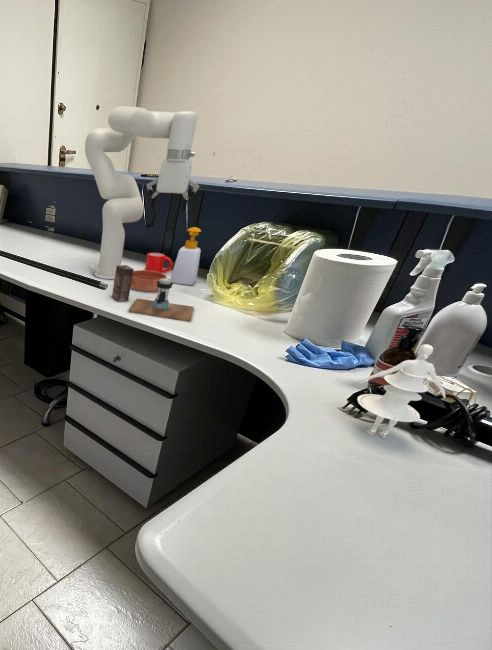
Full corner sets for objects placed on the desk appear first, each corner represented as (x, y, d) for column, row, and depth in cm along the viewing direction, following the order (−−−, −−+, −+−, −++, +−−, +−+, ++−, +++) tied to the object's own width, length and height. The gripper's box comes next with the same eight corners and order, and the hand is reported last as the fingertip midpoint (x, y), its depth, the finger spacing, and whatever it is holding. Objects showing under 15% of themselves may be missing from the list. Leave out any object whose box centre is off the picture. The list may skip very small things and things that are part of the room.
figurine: (406, 428, 84) (461, 339, 74) (425, 456, 76) (489, 360, 66) (331, 413, 88) (373, 327, 78) (342, 438, 80) (390, 346, 70)
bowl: (123, 289, 164) (125, 277, 162) (131, 280, 176) (132, 268, 173) (161, 294, 159) (163, 282, 156) (166, 284, 170) (168, 272, 168)
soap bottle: (167, 285, 170) (178, 229, 158) (173, 277, 180) (184, 224, 169) (191, 289, 166) (204, 231, 154) (196, 280, 176) (209, 226, 165)
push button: (173, 307, 144) (179, 279, 139) (170, 312, 140) (176, 283, 134) (153, 304, 146) (159, 276, 141) (150, 308, 142) (156, 280, 137)
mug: (168, 276, 182) (171, 258, 178) (142, 272, 187) (145, 254, 183) (173, 272, 187) (176, 255, 183) (147, 268, 193) (150, 251, 189)
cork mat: (128, 312, 141) (129, 309, 141) (136, 300, 152) (137, 298, 152) (189, 321, 134) (190, 319, 134) (193, 308, 145) (193, 306, 145)
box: (129, 301, 152) (134, 268, 146) (118, 301, 151) (122, 269, 145) (122, 296, 157) (126, 264, 151) (111, 296, 156) (115, 265, 150)
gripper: (206, 156, 135) (194, 211, 144) (153, 155, 142) (144, 208, 150) (205, 156, 130) (192, 213, 138) (149, 155, 136) (141, 210, 144)
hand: (167, 210), depth 144 cm, fingers open, 9 cm apart
